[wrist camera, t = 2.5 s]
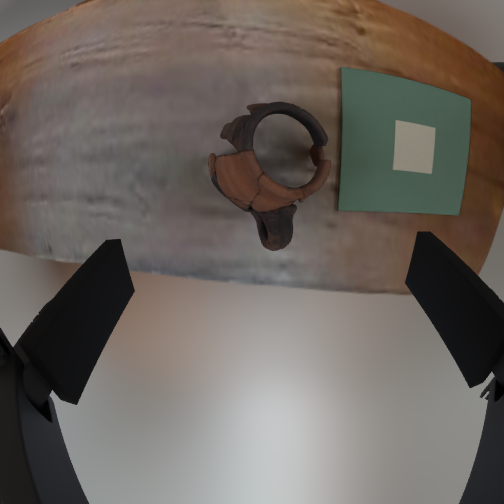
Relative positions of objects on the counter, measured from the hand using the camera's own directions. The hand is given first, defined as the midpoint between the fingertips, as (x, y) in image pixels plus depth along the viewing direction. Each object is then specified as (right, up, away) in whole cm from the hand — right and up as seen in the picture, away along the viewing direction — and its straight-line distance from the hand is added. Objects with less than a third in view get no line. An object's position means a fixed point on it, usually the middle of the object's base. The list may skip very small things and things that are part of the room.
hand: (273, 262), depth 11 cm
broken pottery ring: (0, +8, +13) cm, 16 cm away
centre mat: (+15, +11, +11) cm, 22 cm away
